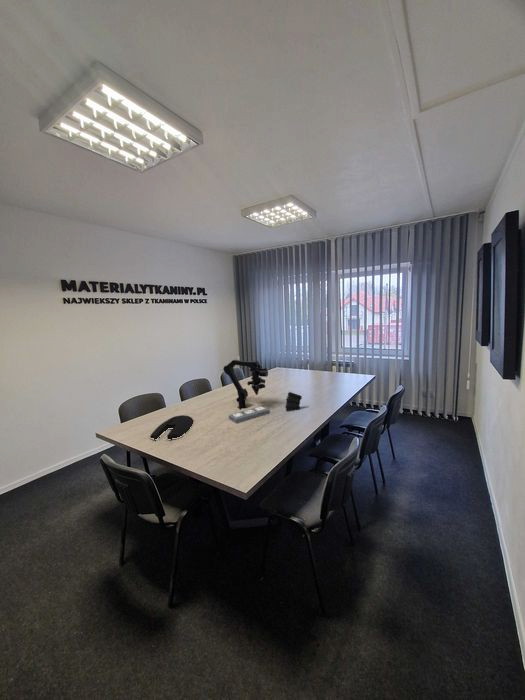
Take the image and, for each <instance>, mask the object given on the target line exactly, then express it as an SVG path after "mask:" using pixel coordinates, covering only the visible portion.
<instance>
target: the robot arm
mask: <svg viewBox="0 0 525 700" xmlns="http://www.w3.org/2000/svg"><path fill="white" fill-rule="evenodd" d="M235 366H242V367H248V368H249V370H248V371H249V372H251V377H250V378H251V380H250V381H249V380H248V381H247V383H246V385H247V386H251V388H252V390H253V392H254V394H255V396H258V394H259V391H260V390H261V389H264V388H265V389H266V379H264V378H262V377H266V378H267V377H268V376H269V371H268V368H263V367H262V366H261V364H260V362H259V361H258V360H250V361H248V360H241V359H240V360H239V359H233V360H231V362H229V363H228V364H226V365H224V366H223V368H222V369H223V371H224V373H225V375H227V376H229V378H230V380H231V382H232V384H233V385H234V387H235V390H237V396H238V397H237V398H236V399H235V400H236V402H237V403H238V406H237V408H238V409H240V410H242V409H246V408H248V406H246V405H247V404H246V400H247V398H248V397H249V392H248V391H247V389H246V388H243V387H242V384H241V383H240V380H238V378H237V376H236V374H235V369H234V368H235Z"/></svg>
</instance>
